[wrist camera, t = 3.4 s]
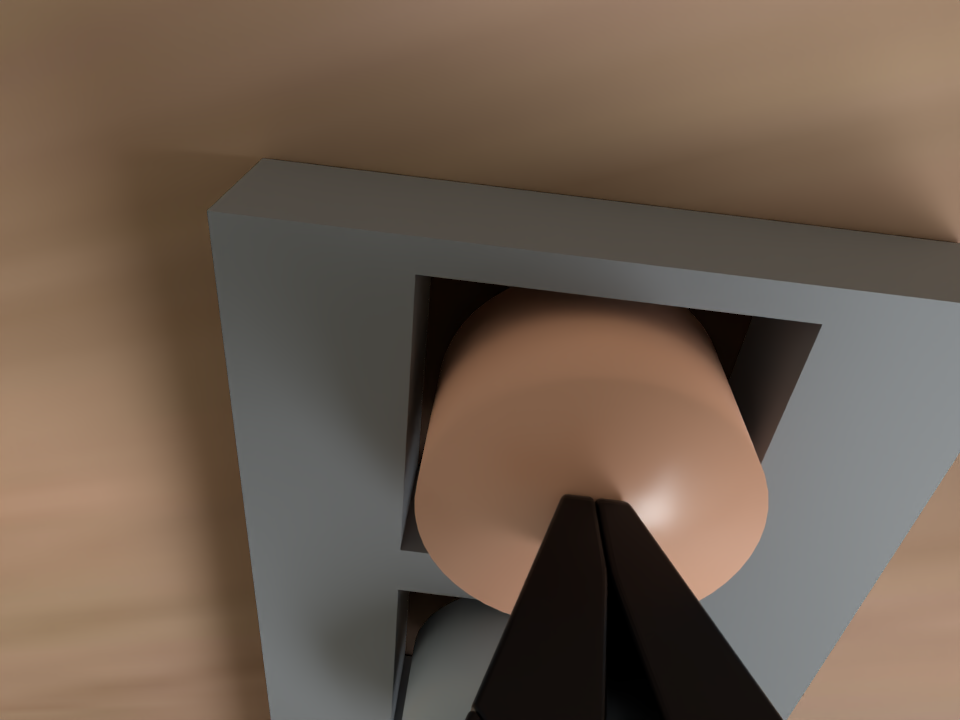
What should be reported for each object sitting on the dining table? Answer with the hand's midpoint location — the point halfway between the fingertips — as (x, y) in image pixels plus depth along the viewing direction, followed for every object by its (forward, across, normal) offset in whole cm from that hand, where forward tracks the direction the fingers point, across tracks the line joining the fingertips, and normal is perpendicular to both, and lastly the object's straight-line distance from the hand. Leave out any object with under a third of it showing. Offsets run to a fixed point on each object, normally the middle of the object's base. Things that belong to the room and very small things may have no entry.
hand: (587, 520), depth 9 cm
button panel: (+3, 0, +6) cm, 7 cm away
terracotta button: (+3, 0, 0) cm, 3 cm away
